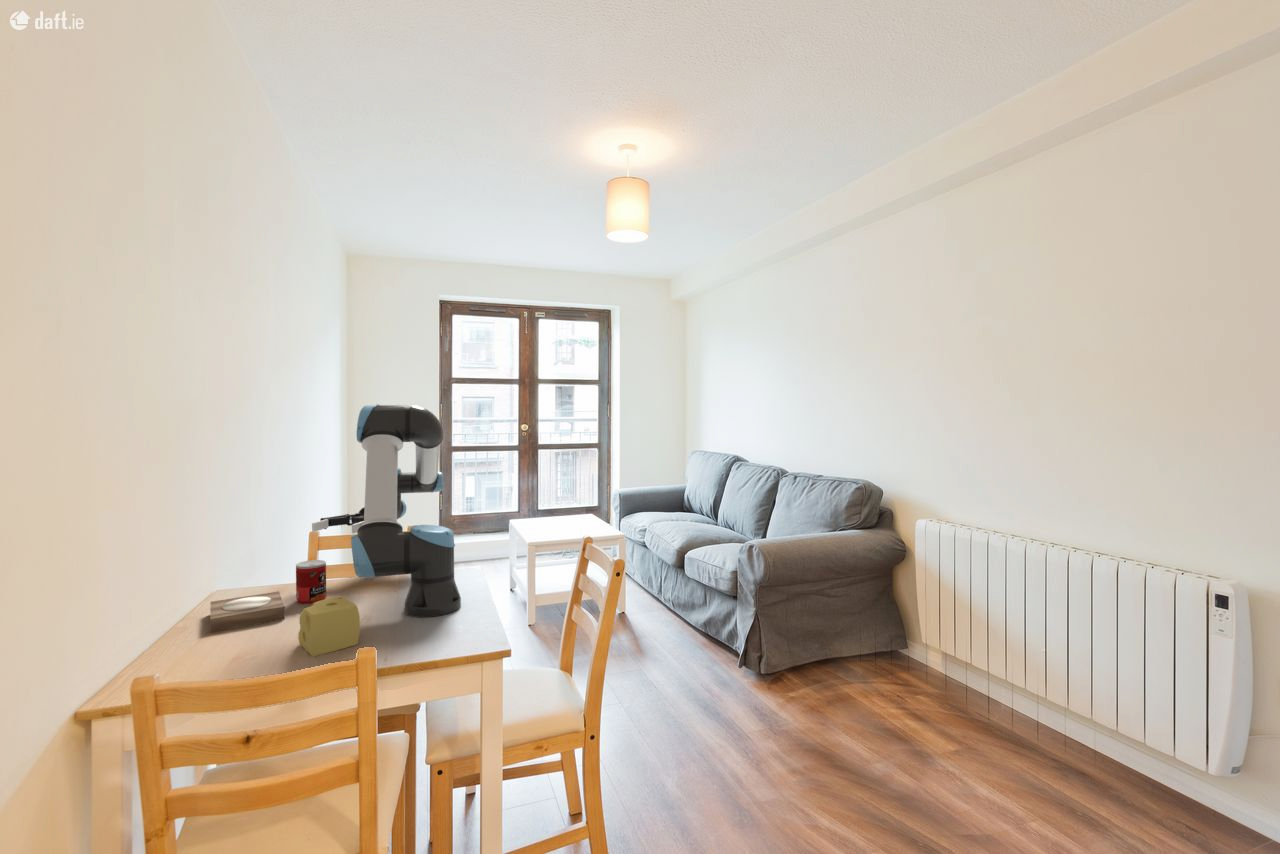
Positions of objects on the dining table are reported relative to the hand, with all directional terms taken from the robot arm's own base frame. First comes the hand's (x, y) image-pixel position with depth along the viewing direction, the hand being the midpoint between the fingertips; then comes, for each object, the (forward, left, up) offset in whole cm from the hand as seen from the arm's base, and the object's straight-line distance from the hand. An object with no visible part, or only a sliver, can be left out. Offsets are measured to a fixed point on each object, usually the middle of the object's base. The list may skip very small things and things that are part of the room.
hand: (332, 528), depth 181 cm
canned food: (-7, +7, -20) cm, 22 cm away
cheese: (-47, +8, -20) cm, 51 cm away
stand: (-13, +23, -19) cm, 33 cm away
